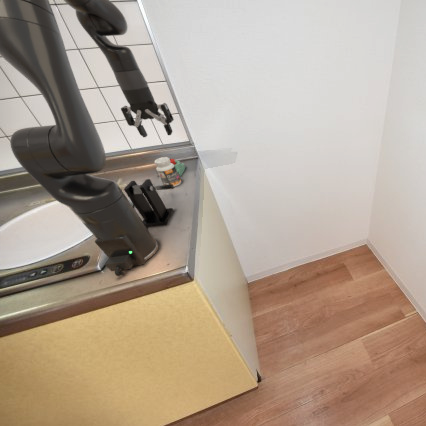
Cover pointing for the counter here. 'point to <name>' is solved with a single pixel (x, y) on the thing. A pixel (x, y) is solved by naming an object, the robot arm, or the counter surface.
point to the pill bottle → (167, 171)
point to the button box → (179, 167)
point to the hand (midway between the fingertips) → (158, 135)
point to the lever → (138, 191)
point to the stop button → (172, 161)
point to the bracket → (150, 215)
